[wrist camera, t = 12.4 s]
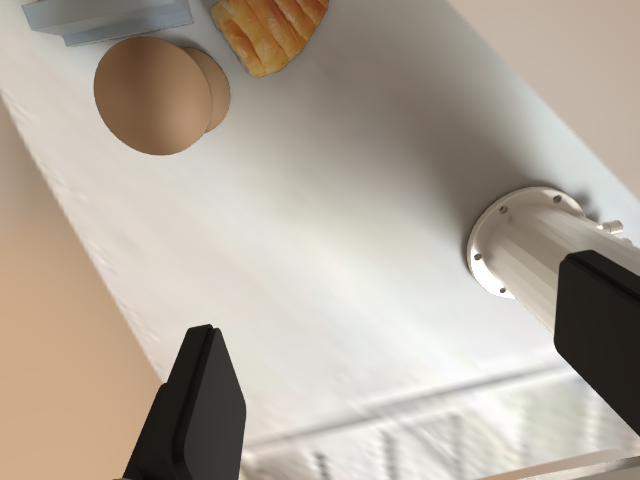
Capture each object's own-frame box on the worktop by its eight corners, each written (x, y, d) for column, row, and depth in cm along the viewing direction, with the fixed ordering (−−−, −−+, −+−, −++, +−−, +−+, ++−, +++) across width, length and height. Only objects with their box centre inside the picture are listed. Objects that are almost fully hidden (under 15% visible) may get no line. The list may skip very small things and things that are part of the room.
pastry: (297, -65, 30) (299, -83, 27) (346, 16, 33) (354, 9, 29) (205, 16, 32) (196, 9, 28) (259, 87, 34) (256, 89, 31)
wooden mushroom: (217, 39, 32) (190, 26, 23) (239, 125, 35) (223, 144, 26) (134, 56, 32) (74, 49, 23) (162, 140, 35) (119, 164, 26)
